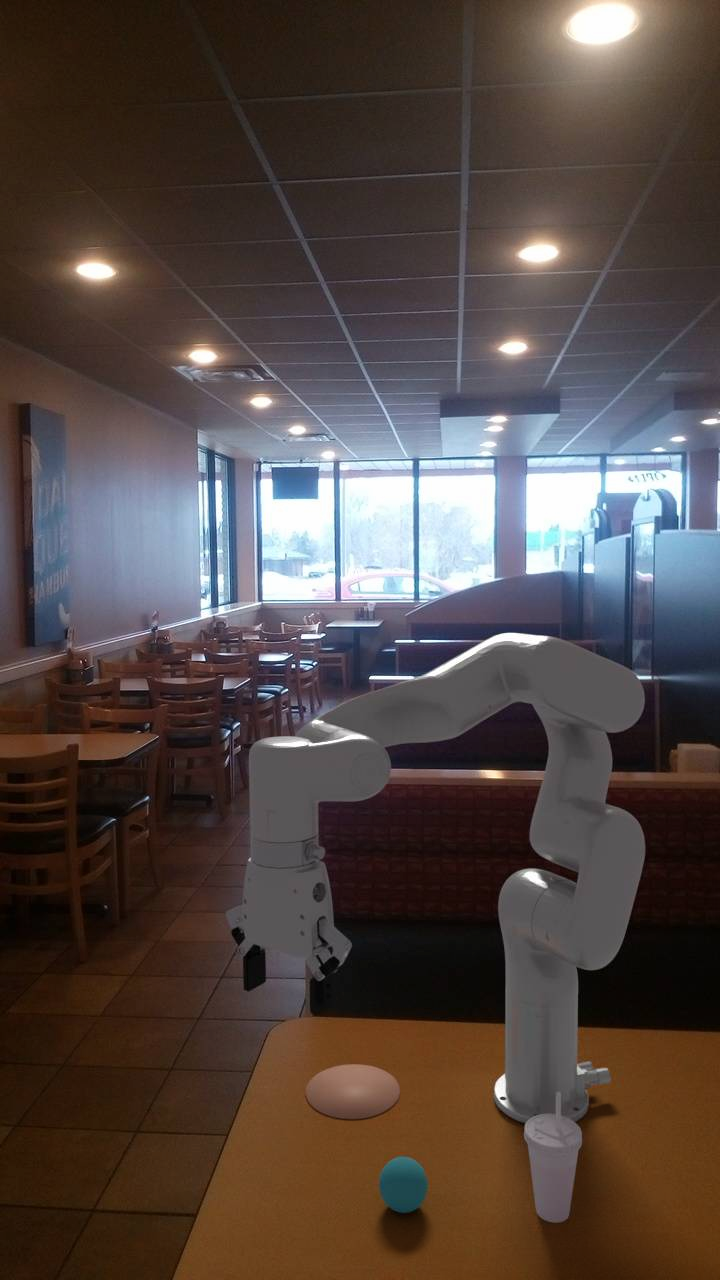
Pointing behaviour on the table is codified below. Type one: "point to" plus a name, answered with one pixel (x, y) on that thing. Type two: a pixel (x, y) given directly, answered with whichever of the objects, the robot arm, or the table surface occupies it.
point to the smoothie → (553, 1162)
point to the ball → (403, 1184)
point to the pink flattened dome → (352, 1091)
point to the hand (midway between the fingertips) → (287, 997)
